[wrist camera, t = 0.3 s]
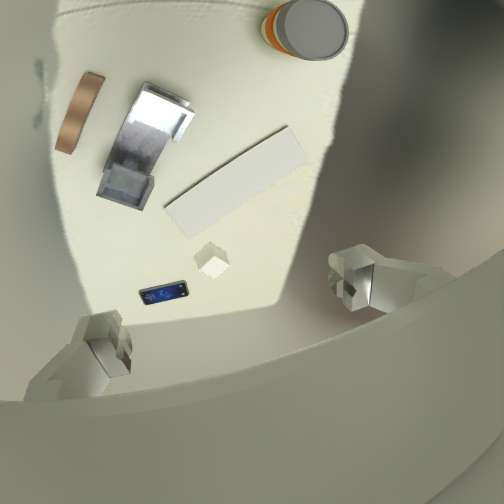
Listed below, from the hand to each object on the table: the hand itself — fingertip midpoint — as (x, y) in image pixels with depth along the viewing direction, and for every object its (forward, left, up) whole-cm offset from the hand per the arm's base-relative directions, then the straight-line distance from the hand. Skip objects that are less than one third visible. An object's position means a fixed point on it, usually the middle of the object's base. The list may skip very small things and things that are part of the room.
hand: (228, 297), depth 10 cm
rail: (+10, -15, -51) cm, 54 cm away
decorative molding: (+11, +24, -52) cm, 58 cm away
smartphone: (+52, +24, -51) cm, 77 cm away
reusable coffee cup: (-24, +12, -51) cm, 58 cm away
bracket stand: (+10, 0, -51) cm, 52 cm away
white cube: (+33, +30, -51) cm, 68 cm away
